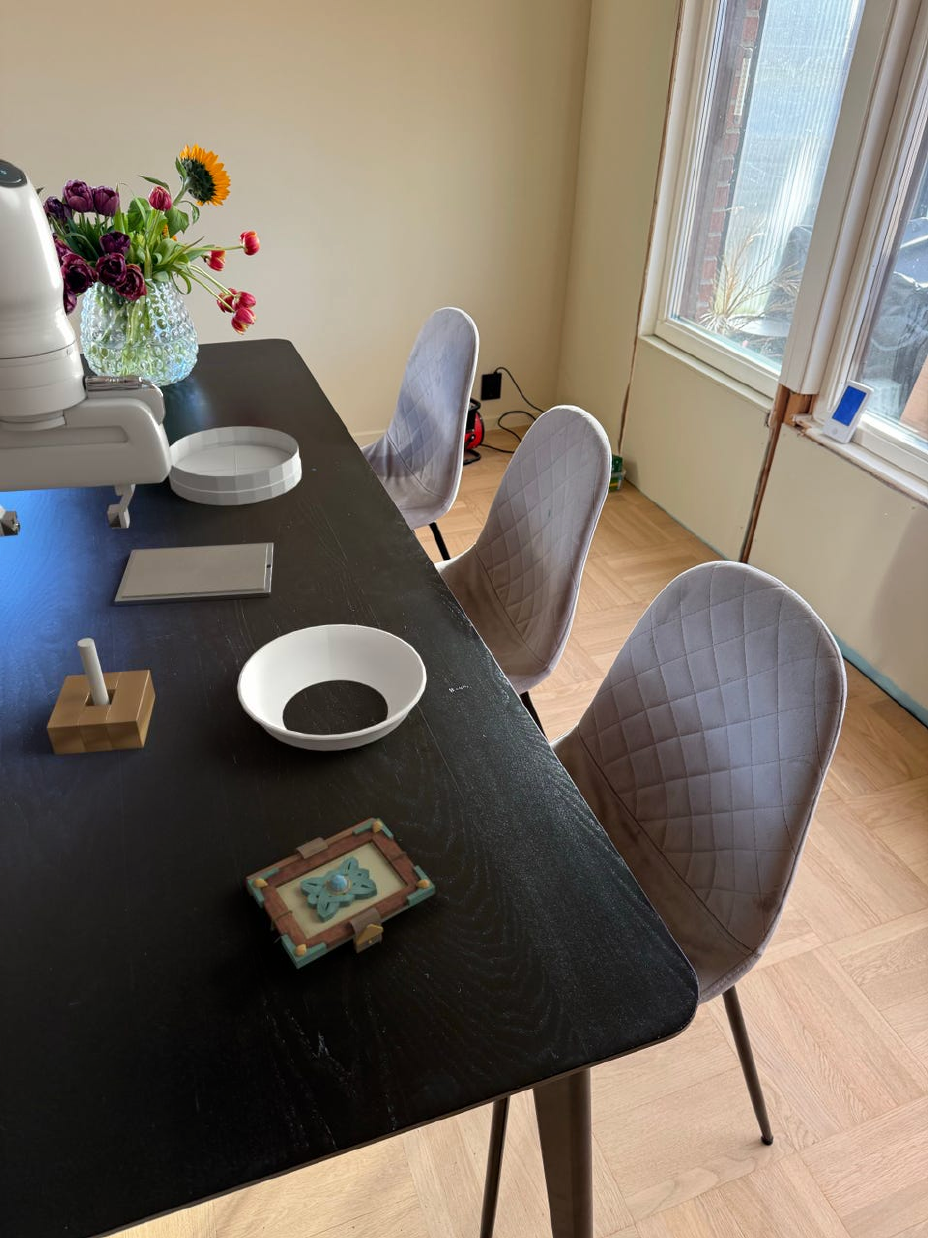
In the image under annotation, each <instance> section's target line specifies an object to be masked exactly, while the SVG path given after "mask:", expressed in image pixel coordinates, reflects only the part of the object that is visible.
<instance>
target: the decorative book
mask: <svg viewBox="0 0 928 1238" xmlns="http://www.w3.org/2000/svg"><path fill="white" fill-rule="evenodd" d="M294 853H295V854H293V855H291V856H289V857H285V858H284V859H282V860H279V861H277V862H276V863H274V864H272V865H269V866H268V867H266V868H263V869H260V870H259V871H257V872H254V873H252V874H251V875H249V876H247V877H245V887H246V889H247V892H248V894H249V895H250V897H253V898H254V900H255V901H256V903H257V904H258V906H259V907H260V909H261V910H262V909H264V911H265V912H266V914H267V915H268V917H269V919H270V920H271V924H270V931H273V932H275V929H276V930H277V932H278V934H279V937H278V938H276V939H275V940H274V941H273V944H274V943H277V942H279V940H281V944H282V947H283V948H284V950H285V951H286V953H287V955H288V956H289V958H290V959H291V961H292V963H293V964H294V966H295V968H296V969H297V970H298V969H300V968H302V967H303V966H306V965H307V964H309V963H312V962H313V961H315V960H317V959H319V958H320V957H322V956H324V955H325V954H327V953H329V952H331V951H333V950H335V949H336V948H338V947H339V946H342V945H344V944H346V943H347V942H349V941H351V940H352V941H353V949H354V951H355V952H356V954H358V953H360V952H362V951H364V950H366V949H367V948H369V947H371V946H373V945H374V944H376V943H378V942H380V941H382V940H383V938H382V937H383V935H382V933H383V932H384V927H382V923H383V922H386V921H387V920H389V919H391V918H393V917H394V916H396V915H398V914H400V913H402V912H403V911H405V910H407V909H410V908H411V907H413V906H415V905H417V904H419V903H420V902H422V901H424V900H426V899H428V898H430V897H431V896H434V895H435V894H436V885H435V884H434V883H433V882H432V881H431V879H430V878H429V877H428V876H427V874H426V873H425V872H424V871H423V870H422V868H421V867H420V866H419V865H414V863H413V862H412V861H411V860H410V858H409V857H408V855H407V853H406V851H403V850H402V849H401V847H400V846H399V845H398V844H397V842H396V841H395V840H394V835H393V833H392V832H391V830H390V829H389V828H388V827H387V826H386V825H385V824H384V823H383V821H382V820H381V819H380V818H379V817H378V818H374V817H371V818H368V819H366V820H364V821H361V822H360V823H358V824H355V825H353V826H351V827H349V828H347V829H345V830H343V831H341V832H339V833H337V834H335V835H333V836H331V837H328V838H326V839H323V838H322V837H317V838H315V839H313V840H311V841H309V842H306V843H305V844H302V845H300V846H297V847H296V848H295V849H294Z"/></svg>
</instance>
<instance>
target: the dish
mask: <svg viewBox="0 0 928 1238" xmlns="http://www.w3.org/2000/svg"><path fill="white" fill-rule="evenodd" d="M169 447H170V451H171V456H172V466H171V470H170V473H169V474H168V480H169V483H170V487H171V488H170V489H171V491H173V492H174V493H175V494H176V495H177V496H178V497H181V498H183V499H185V500H187V501H189V502H195V503H199V504H203V505H214V506H239V505H240V506H241V505H247V504H254V503H259V502H263V501H266V500H270V499H274V498H276V497H278V496H282V495H283V494H286V493H287V492H289V491H290V490H292V489H293V488H295V487H296V486H297V485H298V483H299V482H300V481H301V479H302V473H303V472H302V471H303V470H302V460H301V458H300V452H299V451H300V450H299V444H298V442H297V440H296V439H295V438H294V437H292V436H291V435H290V434H287V433H285V432H284V431H283V432H282V431H280V430H277V429H273V428H267V427H261V426H251V425H249V426H247V425H246V426H242V425H241V426H227V427H225V426H224V427H215V428H211V429H207V430H201V431H198V432H194V433H192V434H188V435H186V436H184V437H182V438H180V439H179V440H176V441H175V442H174V443H173V444H172V445H170V446H169Z"/></svg>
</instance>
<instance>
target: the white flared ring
mask: <svg viewBox="0 0 928 1238" xmlns="http://www.w3.org/2000/svg"><path fill="white" fill-rule="evenodd" d="M329 681H351V682H357V683H361V684H363V685H367V686H369V687H370V688H372V689H374V690H376V691H377V692H378V693H379V694H380V695H381V696H382V697H383V698H384V700H385V702H386V705H387V716H386V719H385V720H383V721H382V722H380V723H378V724H375V725H373V726H370V727H367V728H363V729H361V730H356V731H351V732H346V733H340V734H322V735H321V734H308V733H302V732H298V731H292V730H289V729H287V727H286V726H285V723H284V719H283V716H284V710H285V708H286V705H287V704H288V702H289V701H290V700H291V699H292V698H293V697H294V696H295V695H296V694H298V693H299V692H300V691H302V690H304V689H306V688H308V687H310V686H313V685H316V684H319V683H323V682H329ZM426 683H427V672H426V667H425V665H424V662H423V660H422V657H421V656H420V654H419V653H418V652H417V651H416V649H415V648H414V647H413V646H412V645H410V644H409V643H407V642H406V641H404V639H402V638H401V637H398V636H396V635H394V634H392V633H390V632H387V631H385V630H381V629H378V628H376V627H370V626H364V625H357V624H344V623H343V624H341V623H340V624H325V625H323V624H322V625H317V626H316V625H315V626H310V627H306V628H302V629H298V630H295V631H292V632H289V633H287V634H284V635H282V636H279V637H277V638H275V639H273V640H272V641H270V642H268V643H266V644H264V645H263V646H262V647H260V648H259V649H258V650H256V652H254V653H253V654H252V655H251V657H249V659H248V660H246V662H245V664H244V665H243V667H242V669H241V671H240V673H239V676H238V680H237V686H236V689H237V695H238V700H239V702H240V705H241V706H242V708H243V711H245V712H246V714H248V715H249V716H250V717H251V718H252V720H253V721H255V722H256V723H258V724H259V725H261V727H262V728H263V729H264V730H265V731H266V732H267V733H268V734H269V735H271V736H272V737H274V738H275V739H277V740H278V741H280V742H283V743H285V744H287V745H290V746H292V747H296V748H300V749H305V750H309V751H310V750H311V751H323V752H327V751H342V750H347V749H353V748H358V747H361V746H364V745H367V744H370V743H374V742H375V741H377V740H380V739H381V738H383V737H385V736H387V735H388V734H389V733H392V731H394V730H395V729H396V728H397V727H398V726H400V725H401V724H402V722H403V721H404V720H405V719H406V717H407V716H408V714H409V712H410V711H411V710H412V709H413V708H414V707H415V705H416V704H417V703H418V702H419V700H420V699H421V697H422V695H423V693H424V692H425V689H426Z"/></svg>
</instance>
